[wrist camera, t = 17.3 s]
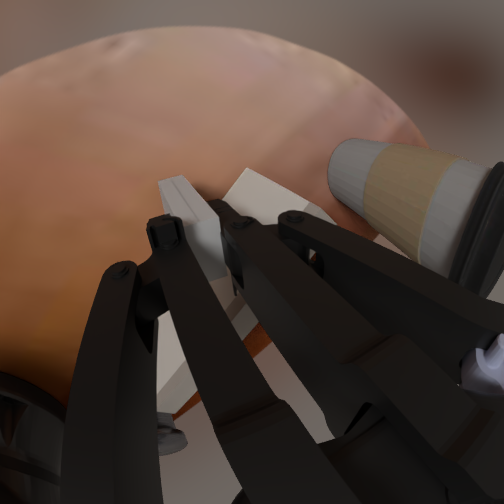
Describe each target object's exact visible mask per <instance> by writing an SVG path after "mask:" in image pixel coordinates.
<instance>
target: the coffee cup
mask: <svg viewBox="0 0 504 504" xmlns="http://www.w3.org/2000/svg"><path fill="white" fill-rule="evenodd" d="M328 183H329V187H330V190H331V192H332V194H333V195H334V196H335V197H336V198H337V199H338V200H340V201H341V202H343V203H344V204H345V205H347V206H348V207H349V208H351V209H352V210H353V211H355V212H356V213H357V214H359V215H360V216H361V217H363V218H364V219H365V220H367V222H368V224H369V225H370V226H372V227H373V228H374V229H375V230H376V231H378V232H379V233H380V234H381V235H383V236H384V237H385V238H386V239H388V240H389V241H390V242H391V243H393V244H394V245H395V246H396V247H397V248H399V249H400V250H401V251H402V252H404V253H405V254H406V255H407V256H408V257H409V258H410V259H412V260H413V261H414V262H416V263H418V264H420V265H422V266H424V267H426V268H428V269H430V270H432V271H434V272H436V273H438V274H440V275H442V276H444V277H446V278H447V279H449V280H451V281H453V282H455V283H457V284H459V285H460V286H462V287H464V288H466V289H468V290H470V291H471V292H473V293H475V294H477V295H478V296H480V297H482V298H484V299H486V298H487V297H488V295H489V294H490V292H491V291H492V289H493V288H494V286H495V284H496V283H497V281H498V279H499V277H500V275H501V274H502V272H503V270H504V163H503V162H498V163H497V164H496V165H495V166H494V167H493V169H492V168H489V167H485V166H483V165H479V164H476V163H473V162H470V161H469V160H468V159H467V158H464V157H460V156H456V155H452V154H449V153H444V152H440V151H436V150H432V149H427V148H422V147H417V146H412V145H407V144H402V143H396V144H391V143H385V142H378V141H371V140H364V139H349V140H346V141H344V142H342V143H341V144H340V145H339V146H338V147H337V148H336V149H335V151H334V152H333V154H332V157H331V159H330V163H329V168H328Z"/></svg>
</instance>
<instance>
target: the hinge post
mask: <svg viewBox="0 0 504 504" xmlns="http://www.w3.org/2000/svg"><path fill="white" fill-rule="evenodd" d="M157 432H158V451H159V456H163V455H168V454H172V453H175V452H178V451H180V450H182V449H184V448H185V447H186V446H187V444H188V443H187V440H186V437H185V435H184V432H182V431H181V430H178V429H176V427H175V425H174V422H173V418H172V415H171V413H165V412H157Z"/></svg>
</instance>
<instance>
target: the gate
mask: <svg viewBox="0 0 504 504" xmlns="http://www.w3.org/2000/svg"><path fill="white" fill-rule="evenodd" d="M222 200H223V201H226V202H227V203H228V204H229V205H230V206H231V207H232V208H233V209H234V210H235V211H236V212H238V213H239V214H240V215H241V216H250V217H253V218H255V219H257V220H258V221H259V222H260V223H261V224H262V225H269V224H278V216H279V214H281V213H283V212H286V211H288V210H291V211H292V210H297V211H303V212H306V213H309V214H311V215H313V216H316V217H318V218H321V219H323V220H325V221H328V222H330V223H332V224H335V225H337V224H336V223H335V222H334V221H333V220H332V219H331V218H330V217H329V216H328V215H327V214H326V213H325V212H324V211H323V210H322V209H321V208H320V207H318V206H316V205H315V204H313V203H311V202H309V201H307V200H305V199H303V198H302V197H300V196H298V195H297V194H295V193H293V192H291V191H289V190H288V189H286V188H284V187H282V186H280V185H279V184H277V183H275V182H273V181H271V180H270V179H268V178H266V177H264V176H262V175H260V174H258V173H256V172H255V171H253V170H251V169H249V168H247V167H246V169H245V170H244V171H243V173H242V174H241V175H240V177H239V178H238V179H237V180H236V182H235V183H234V184H233V186H232V187H231V188H230V190H229V191H228V192H227V194H226V195H225V196H224V198H223V199H222ZM314 254H315V251H313V250H311V249H310V259H311V257H312V256H313V255H314ZM226 267H227V265H226ZM227 274H228V276H226V277H223V278H220V279H217V280H214V281H211V282H209V283H210V285H211V287H212V289H213V291H214V293H215V294H216V296H217V298H218V300H219V302H220V303H221V305H222V307H223V309H224V311H225V312H226V314H227V316H228V318H229V319H230V321H231V323H232V325H233V326H234V328H235V330H236V332H237V333H238V335H239V337H240V338H241V340H243V339H244V338H245V337H246V336H247V335H248V334H249V332H250V331H251V330H252V329H253V328H254V327H255V325H256V324H257V323H258V322H259V321H258V319H257V318H256V316H255V315H254V314H253V312H252V311H251V309H250V308H249V306H248V305H247V303H246V302H245V300H244V299H243V297H242V296H241V294H240V293H239V291H238V290H237V296H235V295H234V291H233V285H232V279H231V272H230V270H229V268H228V267H227ZM158 321H159V329H158V349H157V412H165V413H174V414H175V413H176V412H177V411H178V410H179V409H180V408H181V407H182V406H183V405H184V404H185V403H186V402H187V401H188V400H189V399H190V398H191V396H192V395H193V394H194V393H195V392H196V391H197V387H196V385H195V382H194V380H193V377H192V374H191V372H190V369H189V367H188V364H187V361H186V358H185V356H184V353H183V350H182V347H181V345H180V342H179V339H178V336H177V333H176V330H175V327H174V324H173V321H172V318H171V315H170V312H169V311H167V312H166V313H164V314H162V315H161V316H159V317H158Z"/></svg>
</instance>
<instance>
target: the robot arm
mask: <svg viewBox="0 0 504 504" xmlns="http://www.w3.org/2000/svg"><path fill="white" fill-rule="evenodd" d="M158 185H159V189H160V194H161V198H162V203H163V207H164V212H165V215H161V216H158V217H154V218H151V219H149V221H148V223H147V229H146V231H147V235H148V238H149V242H150V245H151V248H152V255H151V256H150V257H149V259H147V260H146V261H145V262H144V263H142V264H140V265H138V266H137V265H136V264H135V263H134V262H132V261H121V262H117V263H115V264H113V265H111V266H110V267H109V268H108V269H107V270H106V271H105V272H104V274H103V276H102V279H101V281H100V284H99V287H98V290H97V293H96V296H95V299H94V302H93V305H92V308H91V311H90V314H89V317H88V321H87V324H86V327H85V331H84V334H83V338H82V342H81V345H80V349H79V353H78V357H77V361H76V366H75V370H74V374H73V379H72V384H71V389H70V394H69V400H68V406H67V411H66V409H65V408H64V407H63V406H62V405H61V404H60V403H59V402H58V401H57V400H55V399H54V398H53V397H51V396H50V395H49V394H47V393H46V392H44V391H42V390H41V389H39V388H37V387H35V386H33V385H31V384H29V383H27V382H25V381H23V380H20V379H18V378H15V377H13V376H10V375H7V374H4V373H0V504H163V496H162V487H161V478H160V465H159V451H158V432H157V349H158V329H159V321H158V317H159V316H161V315H162V314H164V313H166V312H167V311H169V312H170V315H171V318H172V321H173V324H174V327H175V330H176V333H177V336H178V339H179V342H180V345H181V347H182V350H183V353H184V356H185V358H186V361H187V364H188V367H189V369H190V372H191V374H192V377H193V380H194V382H195V385H196V387H197V390H198V392H199V394H200V397H201V399H202V402H203V404H204V406H205V409H206V411H207V413H208V416H209V418H210V420H211V422H212V425H213V429H214V432H215V434H216V437H217V439H218V441H219V443H220V445H221V447H222V450H223V452H224V454H225V455H226V458H227V460H228V462H229V463H230V465H231V468H232V469H233V471H234V473H235V475H236V477H237V479H238V481H239V483H240V484H241V486H242V488H243V489H242V490H241V491H240V492H239V493H238V494H237V496H236V497H235V499H234V500H233V502H232V504H504V304H501V303H498V302H495V301H491V300H488V299H484V298H482V297H480V296H478V295H477V294H475V293H473V292H471V291H470V290H468V289H466V288H464V287H462V286H460V285H459V284H457V283H455V282H453V281H451V280H449V279H447V278H446V277H444V276H442V275H440V274H438V273H436V272H434V271H432V270H430V269H428V268H426V267H424V266H422V265H420V264H418V263H416V262H414V261H412V260H410V259H408V258H406V257H404V256H402V255H400V254H398V253H396V252H394V251H392V250H390V249H387V248H385V247H383V246H381V245H379V244H377V243H375V242H373V241H370V240H368V239H366V238H364V237H362V236H359V235H357V234H355V233H353V232H351V231H348V230H346V229H344V228H341V227H339V226H337V225H335V224H332V223H330V222H328V221H325V220H323V219H321V218H318V217H316V216H313V215H311V214H309V213H306V212H303V211H297V210H292V211H291V210H288V211H286V212H283V213H281V214H279V216H278V224H269V225H262V224H261V223H260V222H259V221H258V220H257V219H255V218H253V217H250V216H241V215H240V214H239V213H238V212H236V211H235V210H234V209H233V208H232V207H231V206H230V205H229V204H228V203H227V202H226V201H223V200H220V199H216V200H212V201H209V202H205V200H204V199H203V198H202V197H201V196H200V195H199V193H198V192H197V191H196V190H195V189H194V188H193V187H192V185H191V184H190V183H189V182H188V181H187V180H186V179H185V177H184V176H183V175H180V176H176V177H172V178H168V179H164V180H160V181H158ZM310 249H311V250H313V251H315V252H316V261H312V260H311V259H310ZM226 265H227V267H228V268H229V270H230V272H231V279H232V285H233V291H234V295H235V296H237V290H238V291H239V293H240V294H241V296H242V297H243V299H244V300H245V302H246V303H247V305H248V306H249V308H250V309H251V311H252V312H253V314H254V315H255V316H256V318H257V319H258V321H259V322H260V324H261V325H262V327H263V328H264V330H265V331H266V333H267V334H268V335H269V337H270V338H271V340H272V341H273V343H274V344H275V345H276V347H277V348H278V350H279V351H280V353H281V354H282V356H283V357H284V358H285V360H286V361H287V363H288V364H289V365H290V367H291V368H292V370H293V371H294V372H295V374H296V375H297V377H298V378H299V379H300V381H301V382H302V384H303V385H304V386H305V388H306V389H307V391H308V392H309V393H310V395H311V396H312V397H313V399H314V400H315V401H316V403H317V404H318V406H319V407H320V408H321V410H322V411H323V413H324V416H325V420H326V423H327V426H328V428H329V430H330V431H331V433H332V434H333V436H334V437H335V439H332V440H329V441H326V442H322V443H319V444H317V443H316V442H315V441H314V439H313V438H312V436H311V435H310V434H309V432H308V431H307V429H306V428H305V426H304V425H303V423H302V422H301V420H300V419H299V417H298V416H297V415H296V413H295V412H294V411H293V409H292V408H291V407H290V405H289V404H287V402H286V401H284V400H281V399H279V398H278V397H277V396H276V395H275V394H274V392H273V391H272V389H271V388H270V387H269V385H268V383H267V381H266V380H265V378H264V377H263V375H262V373H261V372H260V370H259V369H258V367H257V365H256V364H255V362H254V360H253V359H252V357H251V355H250V354H249V352H248V350H247V349H246V347H245V345H244V343H243V342H242V340H241V338H240V337H239V335H238V333H237V332H236V330H235V328H234V326H233V325H232V323H231V321H230V319H229V318H228V316H227V314H226V312H225V311H224V309H223V307H222V305H221V303H220V302H219V300H218V298H217V296H216V294H215V293H214V291H213V289H212V287H211V285H210V283H209V282H211V281H214V280H217V279H220V278H223V277H226V276H228V274H227V267H226ZM457 384H459V386H458V385H457Z"/></svg>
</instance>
